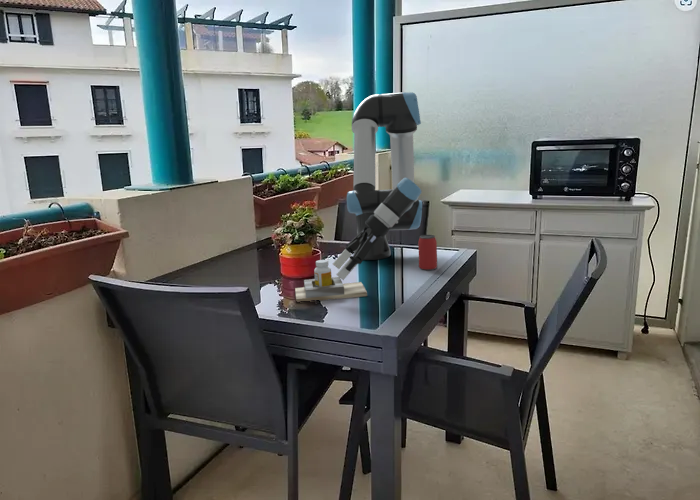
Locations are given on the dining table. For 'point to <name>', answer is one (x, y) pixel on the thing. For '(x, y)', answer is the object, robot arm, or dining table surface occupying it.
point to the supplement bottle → (322, 274)
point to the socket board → (347, 291)
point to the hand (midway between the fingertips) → (337, 271)
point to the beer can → (427, 252)
